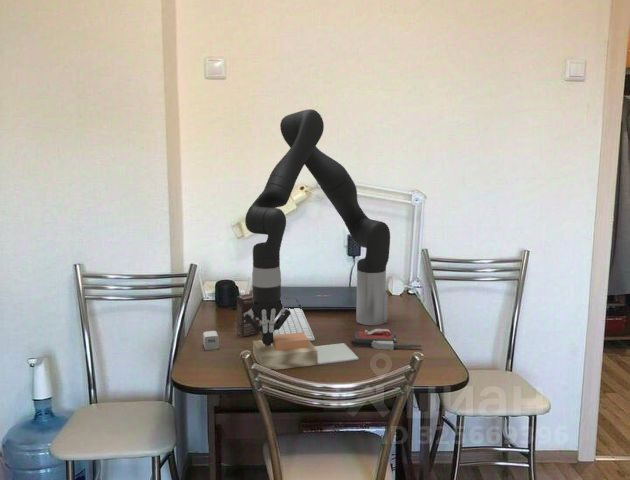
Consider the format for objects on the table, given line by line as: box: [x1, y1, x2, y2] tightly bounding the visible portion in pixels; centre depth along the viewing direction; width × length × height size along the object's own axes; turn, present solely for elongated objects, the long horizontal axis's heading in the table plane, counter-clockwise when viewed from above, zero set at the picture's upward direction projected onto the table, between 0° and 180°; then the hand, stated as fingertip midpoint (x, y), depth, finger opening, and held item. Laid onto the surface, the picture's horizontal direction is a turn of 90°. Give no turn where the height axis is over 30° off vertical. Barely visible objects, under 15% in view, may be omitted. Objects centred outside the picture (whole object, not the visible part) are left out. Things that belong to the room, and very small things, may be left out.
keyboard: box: [273, 308, 316, 342], centre depth 198 cm, size 44×12×2 cm, turn 9°
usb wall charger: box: [202, 330, 220, 351], centre depth 174 cm, size 4×7×4 cm, turn 16°
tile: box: [272, 332, 309, 351], centre depth 163 cm, size 9×6×2 cm, turn 106°
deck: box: [252, 339, 318, 371], centre depth 164 cm, size 15×12×4 cm
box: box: [236, 293, 261, 338], centre depth 183 cm, size 6×4×12 cm
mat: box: [313, 342, 360, 365], centre depth 168 cm, size 12×12×1 cm
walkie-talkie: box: [350, 328, 422, 351], centre depth 175 cm, size 9×4×20 cm
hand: (267, 344), depth 162 cm, fingers closed
